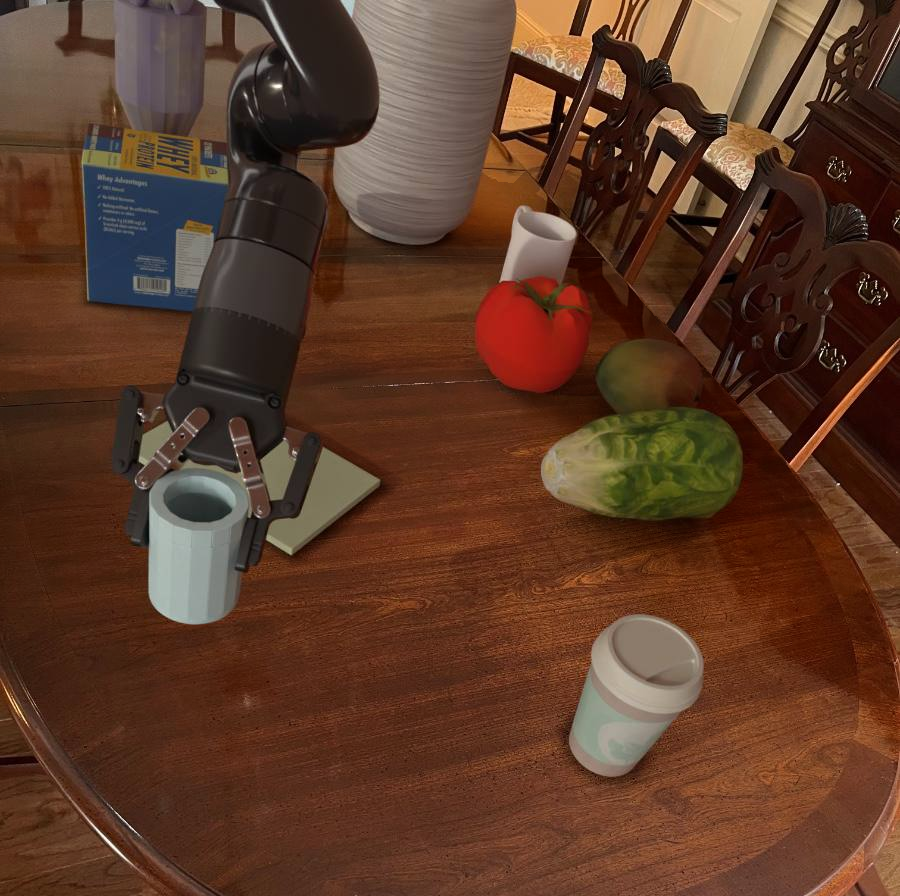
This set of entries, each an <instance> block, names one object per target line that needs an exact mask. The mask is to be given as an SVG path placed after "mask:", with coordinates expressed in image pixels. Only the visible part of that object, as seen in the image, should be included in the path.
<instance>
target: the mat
mask: <svg viewBox="0 0 900 896" xmlns="http://www.w3.org/2000/svg"><path fill="white" fill-rule="evenodd" d="M172 434H173V432H172V430H171V428H170V425H169V423H168V420H167V421H165V422H163V423H161V424H159V425H158V426H156V427H154V428H153V429H150V430H148V431H147V432H145V433H143V436H142V443H141V449H140V456H139V462H138V463H140V464H142V465H144V466H145V465H146V464H147V463H148V462H149V461H150V460H151V459H152V458H153V456H154V455H155V452H156V451H157V450H158V448H159V447H160V446H161V445H162V444H163V443H164V442H165V441H166V440H167V439H168V438H169V437H170V436H171V435H172ZM173 448H175V446H173ZM288 450H289V445H288V443H287V442H285V441H283V442H282V443H280V444H279V445H278V446H277V447H276V448H274V449H273V450H272V451H271V452H270V453H268V454H267V455H266V456H265V457H263V458H262V459H261V464H262V467H263V471H264V475H265V478H266V482H267V487H268V491H269V495H270V499H271V500H280V499H283V497H284V494H285V491H286V488H287V485H288V482H289V479H290V476H291V473H292V470H293V468H294V465H295V462H294V461H292V460H291V458H290V456H289V454H288ZM181 455H182V453H181ZM186 468H187V469H188V468H196V469H209V470H212V471H216V472H219V473H223V474H225V475H227V476H228V477H230V478H232V479H233V480H235V481H237V482H238V483H239V484H240V485H241V486H242V488H243V489H244V490H245V491H246V493H247V495H248V492H247V489H246V486H245V483H244V480H243V477H242V473H241V472H238V474H236V473H232V472H228V471H226V470H224V469H222V468H220V467H218V466H216V465H210V466H204V465H200V464H196V463H193V462H192V461H191V460H189V461H188V462H187V463H186V464H185V465H184V466H183V467H182V468H181V469H180V470H182V469H186ZM380 485H381V479H380V478H378V477H376V476H374V475H373V474H371V473H369V472H368V471H366V470H364V469H362V468H361V467H359V466H357V465H355V464H353V463H352V462H350V461H349V460H347V459H345V458H343V457H341V456H340V455H339V454H337V453H334V452H333V451H331V450H329V449H328V448H325V447H324V446H323V449H322V452H321V455H320V458H319V461H318V463H317V466H316V469H315V472H314V475H313V478H312V481H311V484H310V487H309V490H308V493H307V496H306V499H305V501H304V504H303V507H302V510H301V513H300V515H299V516H298V517H297V518H294V519H291V518H286V519H277V520H275V521H273V522H272V523H271V524H270V526H269V529H268V533H267V537H266V541H267V542H269V543H270V544H272V545H274V546H276V547H277V548H278V549H280V550H282V551H284V552H285V553H286V554H289V555H290V556H293V555H294V554H295V553H297V552H298V551H299V550H301V549H302V548H303V547H304V546H305V545H307V544H308V543H309V542H311V541H312V540H313V539H315V537H317V536H318V535H320V534H321V533H322V532H323V531H324V530H326V529H327V528H328V527H329V526H331V525H332V524H333V523H334V522H336V521H338V519H340V518H341V517H342V516H344V515H345V514H346V513H347V512H348V511H350V510H351V509H352V508H353V507H355V506H356V505H357V504H359V503H360V502H361V501H363V499H365V498H367V496H369V495H370V494H371V493H372V492H374V491H375V490H376V489H378V488H379V487H380ZM248 502H249V511H248V517H249V518H250V517H251V513H252V507H251V503H250V500H249V496H248Z"/></svg>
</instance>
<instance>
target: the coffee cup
mask: <svg viewBox="0 0 900 896" xmlns="http://www.w3.org/2000/svg"><path fill="white" fill-rule="evenodd" d="M590 658H591V659H590V660H591V662H590V665H589V669H588V671H587V675H586V678H585V682H584V685H583V687H582V688H583V689H582V691H581V695H580V698H579V701H578V705H577V708H576V711H575V715H574V718H573V722H572V725H571V728H570V731H569V736H568V745H569V748H570V751H571V753H572V755H573V756H574V758H575V759H576V761H577V762H579V764H581V765H582V766H583V767H584V768H585V769H586V770H589V772H591V773H594V774H596V775H600V776H603V777H608V778H609V777H610V778H615V777H621V776H624V775H626V774H628V773H629V772H631V771H632V770H633V769H634V768H635V767H636V765H638V763H639V762H640V761H641V760H642V758H644V756H646V754H647V753H648V752H649V750H651V748H652V747H653V746H654V745H655V743H656V742H657V741H658V740H659V739H660V737H661V736H662V735H663V734H664V733H665V731H666V730H668V729H669V727H670V725H672V723H673V722H674V721H675V720H676V719H677V717H678V716H679V715H680V714H681V713H682V711H685V710H687V709H689V708H690V707H691V706H693V705H694V703H695V702H697V700H698V698H699V697H700V694H701V690H702V688H703V684H704V669H705V661H704V657H703V654H702V652H701V649H700V648H699V646H698V645H697V643H696V642H695V641H694V638H692V637H691V636H690V635H689V634H688V633H687V632H686V631H685V630H684V629H682V628H681V627H680V626H679V625H676V624H675V623H673V622H671V621H669V620H666V619H664V618H662V617H660V616H655V615H651V614H644V613H643V614H642V613H634V614H628V615H624V616H622V617H620V618H618V619H616V620H614V622H612V623H611V624H610V625H608V626H607V627H606V628H604V629H603V630H602V631H601V632H600V634H599V635H598V636H597V637H596V638H595V640H594V641H593V643H592V646H591V652H590Z"/></svg>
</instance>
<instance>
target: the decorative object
mask: <svg viewBox="0 0 900 896" xmlns="http://www.w3.org/2000/svg"><path fill="white" fill-rule="evenodd" d="M207 16H208V8H207V6H206V5H205V4H204V3H203V2H202V1H200V0H113V22H114V25H113V27H114V64H115V65H114V66H115V67H114V68H115V69H114V70H115V72H114V73H115V92H116V95H117V97H118V100H119V102H120V104H121V106H122V108H123V111H124V113H125V115H126V118H127V120H128V122H129V125H130V127H131V129H133V130H140V131H148V132H154V133H161V134H168V135H175V136H183V137H189V135H190V133H191V131H192V130H193V127H194V125H195V123H196V121H197V119H198V117H199V115H200V113H201V111H202V108H203V106H204V98H205V97H204V96H205V74H206V73H205V71H206V47H207V46H206V44H207V19H208V18H207Z"/></svg>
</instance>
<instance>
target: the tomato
mask: <svg viewBox="0 0 900 896" xmlns="http://www.w3.org/2000/svg"><path fill="white" fill-rule="evenodd" d="M516 280H518V279H516ZM518 281H520V282H519V283H517V282H516V281H501V282H500V281H499V282H500V283H496V284H495V285H494V286H493V287H491V288H490V289H489V290H488V292H486V294H485V295H484V297H483V298H482V300H481V301H480V303H479V306H478V309H477V312H476V316H475V327H474V343H475V347H476V352H477V354H478V356H479V358H480V359H481V361H482V362H483V363H484V364H485V365H487V368H488V369H489V371H490V374H492V375H493V376H494V378H496V379H497V380H498V381H499V382H500V383H501V384H502V385H504V386H505V387H508V388H510V389H511V388H512V389H513V390H518V391H526V392H531V393H535V394H544V393H549V392H553V391H555V390H558V389H560V388H561V387H562V386H563V385H566V383H568V382H569V381H570V380H571V378H572V377H573V376H574V375H575V374H576V372H577V371H578V369H579V367H580V365H582V362H583V361H584V359H585V357H586V354H587V351H588V347H589V344H590V333H591V330H592V321H593V312H592V310H591V307H590V304H589V300H588V297H587V294H586V293H585V292H584V291H583V289H581V288H580V287H579V286H576V285H573V284H572V285H570V282H567V283H562V284H561V285H560V286H559V284H558V283H557V281H556V279H552V278H546V277H541V276H540V277H534V278H528V279H525V280H523V281H521V280H518Z"/></svg>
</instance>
